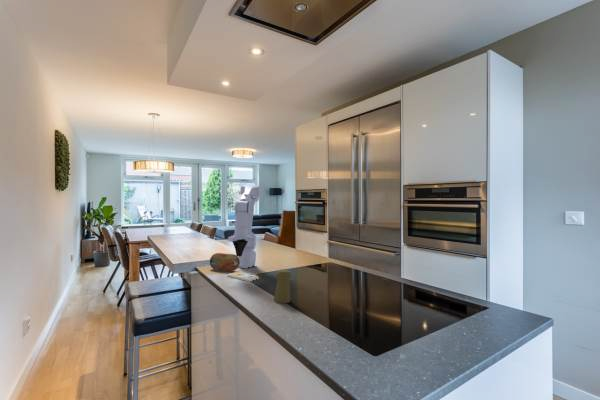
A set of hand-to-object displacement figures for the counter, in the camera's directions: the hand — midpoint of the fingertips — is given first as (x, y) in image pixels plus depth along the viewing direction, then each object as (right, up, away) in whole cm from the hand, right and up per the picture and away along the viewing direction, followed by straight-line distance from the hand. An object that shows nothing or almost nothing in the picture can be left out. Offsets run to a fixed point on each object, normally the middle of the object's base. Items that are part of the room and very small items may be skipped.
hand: (239, 256), depth 138 cm
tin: (-9, -9, +11) cm, 17 cm away
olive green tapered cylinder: (+22, -11, -30) cm, 39 cm away
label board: (+2, -10, -2) cm, 10 cm away
